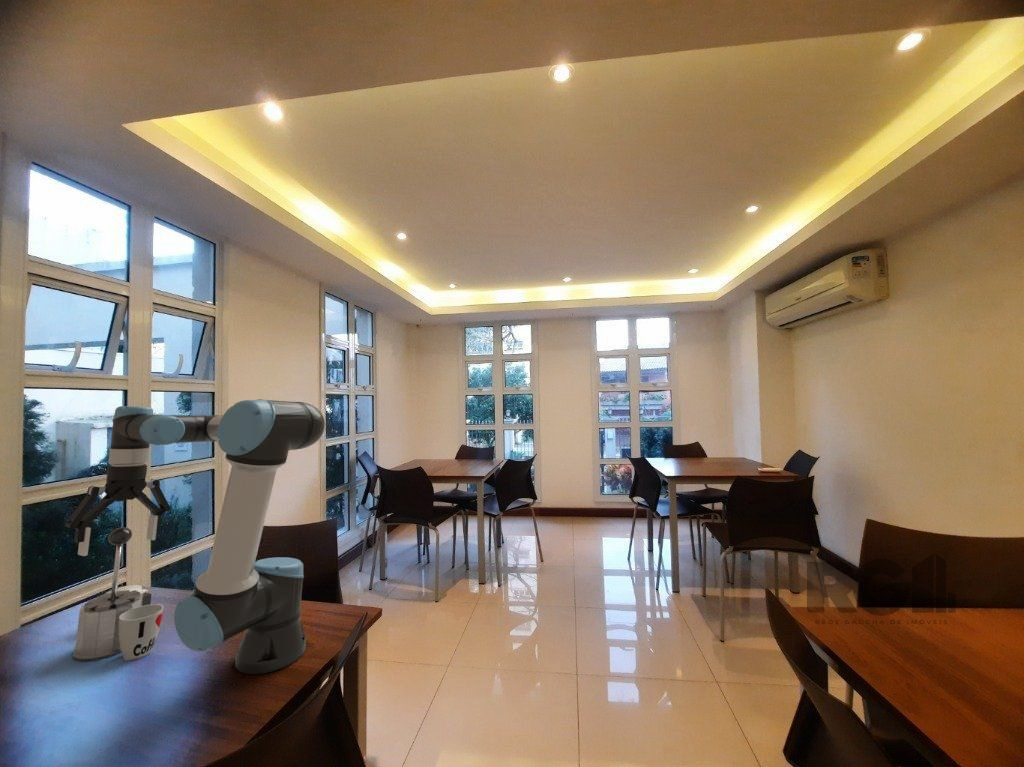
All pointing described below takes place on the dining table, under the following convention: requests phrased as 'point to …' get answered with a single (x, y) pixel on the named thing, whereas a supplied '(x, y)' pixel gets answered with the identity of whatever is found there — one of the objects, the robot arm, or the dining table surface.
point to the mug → (131, 589)
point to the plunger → (118, 554)
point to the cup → (139, 630)
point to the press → (104, 624)
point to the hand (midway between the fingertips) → (118, 546)
